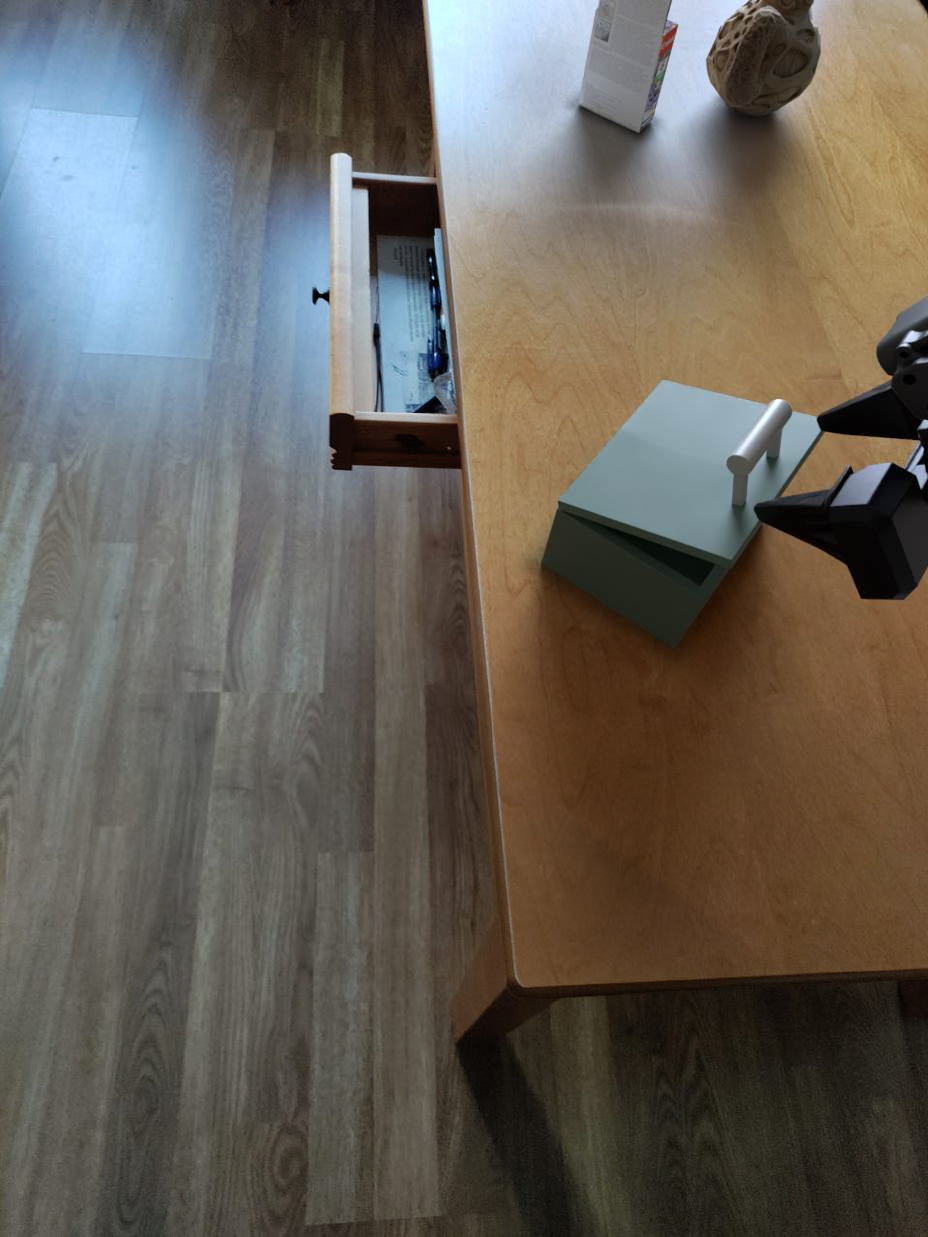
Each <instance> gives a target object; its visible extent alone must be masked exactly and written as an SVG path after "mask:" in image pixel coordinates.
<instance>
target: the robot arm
mask: <svg viewBox="0 0 928 1237" xmlns="http://www.w3.org/2000/svg"><path fill="white" fill-rule="evenodd" d="M895 319H896V320H895V322H894V323H893V324H892V326H891V327H890V329H889V330H888V332H886V334H885V336H883V337H882V338H881V339H880V340H879V341H878V343H877V345H876V349H875V353H876V354H875V356H876V359H877V362H878V364H879V366H880V368H881V369H882V370H883V371H884V372H885V374H886V375H887V376H890V377H891V379H889V380H888V381H887V380H886V382H883V383H882V384H880V385H877V386H875V387H873V388H871V389H869V390H867V391H865V392H863V393H861V394H858V395H856V396H854V397H852V398H849V399H848V400H846V401H844V402H842V403H840V404H837V405H835V406H833V407H831V408H829V409H827V410H825V411H823V412H820V413H819V414H818V415H817V416H816V417H817V423H818V425H819V428H820V430H821V431H823V432H825V433H831V434H837V435H844V436H854V437H867V438H879V439H895V440H907V441H916V442H917V441H918V443H917V444H916V446H915V448H914V449H913V451H912V452H911V454H910V456H909V457H908V459H907V461H906V463H905V464H904V466H903V467H902V466H900V465H898V464H896V463H894V462H893V461H890V462H880V463H871V464H869V465H867V466H865V467H863V468H861V469H860V470H857V471H855V472H854V469H853V467H852V465H851V464H849V465H848V466H846V467H845V468H844V470H843V471H842V473H841V474H840V476H838V478H837V480H836V481H835V482H834V484H833V485H832V486H831V487H829V488H825V489H819V490H815V491H808V492H803V493H798V494H793V495H792V494H791V495H786V496H781V497H780V498H775V499H771V500H767V501H763V502H760V503H757V504H756V505H755V506H754V512H755V514H756V516H757V518H758V520H759V521H761V522H763V523H762V524H764V525H767V526H769V527H771V528H774V529H776V530H778V531H780V532H782V533H784V534H787V535H789V536H790V537H793V538H796V539H797V540H800V541H801V542H803V543H806V544H808V545H810V546H811V547H814V548H815V549H818V550H820V551H822V552H824V553H826V554H827V555H829V556H830V557H833V558H834V559H835V560H837V561H839V562H841V563H842V564H844V565H846V567H847V569H848V572H849V574H850V576H851V580H852V581H853V584H854V586H855V589H856V590H857V593H858V595H859V598H860V599H861V600H867V601H869V600H871V601H872V600H875V601H876V600H877V601H905V599H907V597H909V596H910V595H911V594H912V593H913V592H914V591H915V590H916V589H917V588H918V586H919V584H920V583H921V581H922V579H923V577H924V575H925V573H926V571H927V570H928V295H926V296H925V297H923V298H922V299H920V300H918V301H916V302H915V303H913V304H912V305H910V306H908V307H907V308H905V309H904V310H902V311H900V312H899V313H898V315H897V316H896V318H895Z"/></svg>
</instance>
